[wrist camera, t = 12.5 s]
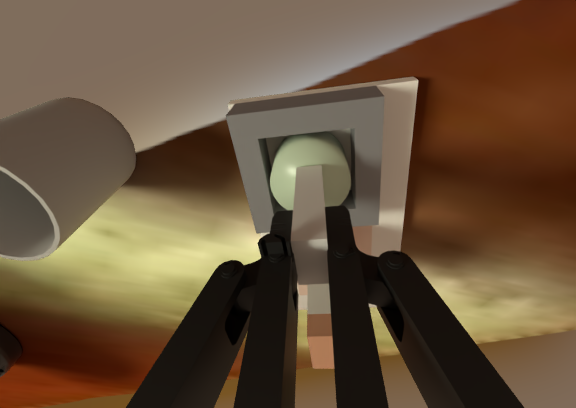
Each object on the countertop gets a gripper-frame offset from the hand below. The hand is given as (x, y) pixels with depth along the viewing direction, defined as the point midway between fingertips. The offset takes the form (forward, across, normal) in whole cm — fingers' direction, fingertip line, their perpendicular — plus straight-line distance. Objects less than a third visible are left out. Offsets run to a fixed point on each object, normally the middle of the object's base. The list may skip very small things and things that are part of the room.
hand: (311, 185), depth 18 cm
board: (+5, +1, -6) cm, 8 cm away
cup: (+5, -18, +2) cm, 19 cm away
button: (+3, 0, 0) cm, 3 cm away
